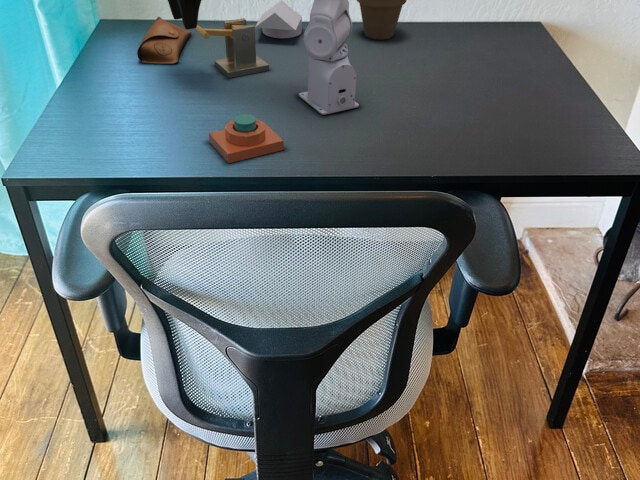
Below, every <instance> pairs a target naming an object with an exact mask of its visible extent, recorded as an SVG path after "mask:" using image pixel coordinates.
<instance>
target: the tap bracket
mask: <svg viewBox="0 0 640 480" xmlns="http://www.w3.org/2000/svg"><path fill="white" fill-rule="evenodd" d="M232 25H244V26H241V27H235V28H232ZM255 26H256V25H254V24H248V25H247V19H246V18H244V17H243V18H238V19H231V20H225V21H224V20H223V27H224V28H223V29H231V28H232V33H233V39H232V38H231V36H224V41H225V44H224V45H225V55H226V56H225V57H224V58H219V59H214V60H213V61H214V67H216V69H217V70H219V71H220V73H222V74H223V75H224V77H226V78H228V79H233V78H237V77H243V76H247V75H252V74H257V73H258V74H259V73H263V72H269V71H270V64H269V63H267V62H266V61H265V60H264V59H263V58H261V57H260V56H259V55H258V54H257V49H256V48H257V47H256V44H257V43H256V27H255Z"/></svg>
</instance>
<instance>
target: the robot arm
mask: <svg viewBox="0 0 640 480" xmlns="http://www.w3.org/2000/svg"><path fill="white" fill-rule="evenodd" d="M167 3H168V6H169V9H170V12H171V15H172V17H173V20H176V21H177V20H181V21H182V25H183V28H184V29H186V30H188V31H189V30H195V29H194V28H197V25H198V20H199V13H200V8H201V4H202V0H167ZM349 10H350V1H349V0H313V3H312V7H311V9H310V13H309V22H308V25H307V27H306V29H305V30H304V34H303V44H304V47H305V49H306V51H307V91H303V92H300V93H298V97H299V98H300V99H302V100H303V101H305V102H306V103H307V104H308V105H309V106H310V107H312V108H313V109H314V110H316V112H318V113H319V114H320V115H322V116H325V115H330V114H334V113H339V112H342V111H346V110H352V109H355V108H359V106H360V104H359V103H358V101H357V102H356V91H357V79H358V78H357V72H356V69H355V68H354V67H353V65H351V63H350V59H349V49H348V45H347V43H346V42H347V41H346V40H348V39H349V38H350V36H351V34H352V31H353V20H352V18H351V14H350V11H349Z"/></svg>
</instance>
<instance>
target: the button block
mask: <svg viewBox="0 0 640 480" xmlns="http://www.w3.org/2000/svg"><path fill="white" fill-rule="evenodd" d="M224 127H225V128H224V129H222V130H216V131H212V132H208V139H209V143H210V145H211V146H212V147H213V148H214V149H215V150H216V151H217V152H218V153H219V154H220V156H222V158H223V159H224V160H225V161H226V162H227V164H232V163H236V162H241V161H244V160H248V159H252V158H255V157H259V156H260V157H261V156H264V155H269V154H273V153H275V152H276V153H277V152H280V151H284V149H285V147H284V139H282V137H280V136H279V135H278V134H277V133H276V132H275V131H274V130H273V129H272V128H271V127H269V125H267V124H266V122H264V121H263V120H260V119H257V118H256V130H255V131H253V132H249V133H240V132H237V131H235V129H234V119H232V120H230V121H228V122H227V123H226V124H225V126H224Z"/></svg>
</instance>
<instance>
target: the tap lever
mask: <svg viewBox="0 0 640 480" xmlns="http://www.w3.org/2000/svg"><path fill="white" fill-rule="evenodd" d="M241 26H244V25H232V28H235V27H241ZM232 28H231V29H224V28H202V27H201V26H200V25H199V24H197V28H194V29H193V30H194V31H195V32H197V33H198V34H199V35H200V36H201V37H203V39H205V40H208V39H209V38H210V37H211V36H212V37H214V36H215V37H225V36H231V38H232V39H233V33H232Z"/></svg>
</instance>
